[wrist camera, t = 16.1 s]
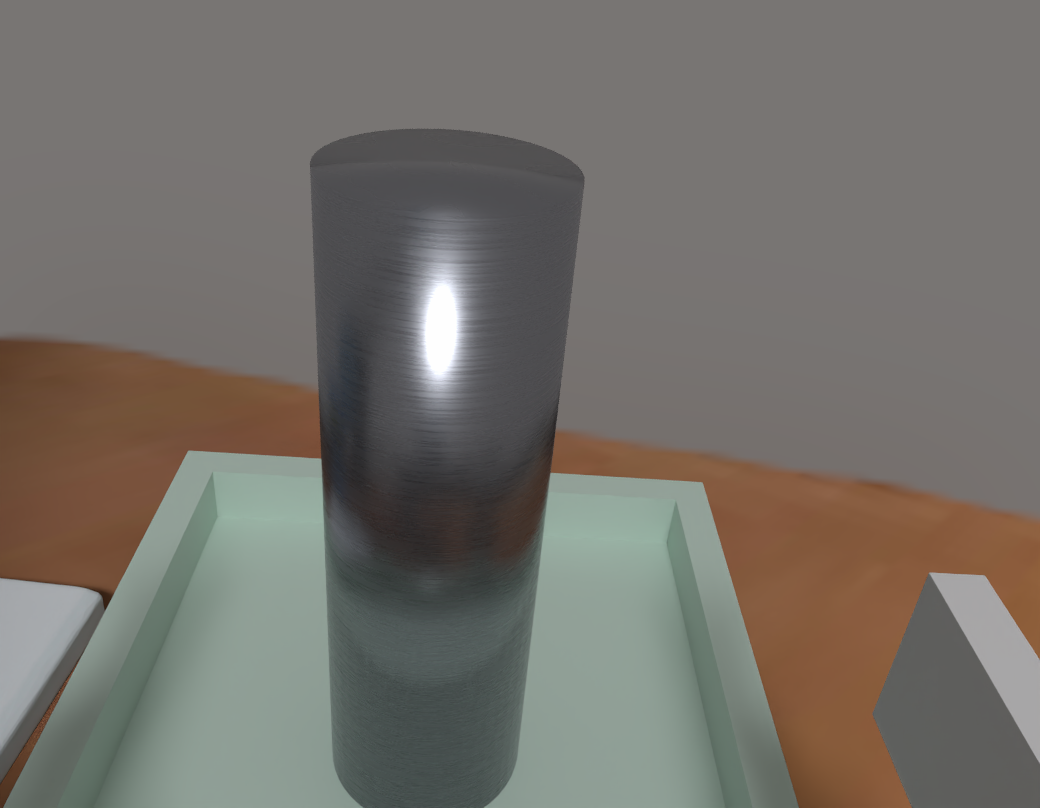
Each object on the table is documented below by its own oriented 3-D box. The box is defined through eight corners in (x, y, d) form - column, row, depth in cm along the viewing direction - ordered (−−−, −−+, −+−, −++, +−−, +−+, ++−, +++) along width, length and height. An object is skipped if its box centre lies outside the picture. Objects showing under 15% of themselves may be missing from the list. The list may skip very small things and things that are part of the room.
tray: (-128, 1221, 15) (-175, 1150, 14) (196, 515, 30) (188, 450, 29) (864, 1242, 16) (908, 1177, 14) (688, 543, 31) (702, 482, 30)
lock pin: (317, 821, 21) (284, 202, 13) (347, 668, 24) (333, 120, 17) (518, 830, 21) (594, 225, 13) (517, 676, 24) (576, 139, 17)
